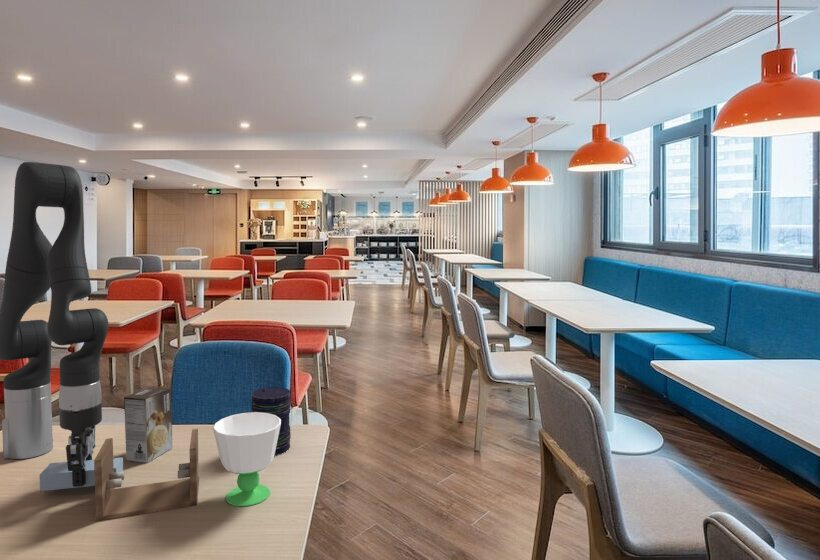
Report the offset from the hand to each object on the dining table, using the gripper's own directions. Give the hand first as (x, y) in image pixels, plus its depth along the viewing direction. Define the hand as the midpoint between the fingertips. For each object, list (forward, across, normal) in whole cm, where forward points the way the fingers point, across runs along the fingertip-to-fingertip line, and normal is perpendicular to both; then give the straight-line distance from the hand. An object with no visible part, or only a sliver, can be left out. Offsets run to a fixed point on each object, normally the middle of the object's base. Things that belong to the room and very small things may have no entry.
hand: (82, 478), depth 106 cm
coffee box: (+3, -15, +11) cm, 19 cm away
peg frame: (+2, +9, +14) cm, 17 cm away
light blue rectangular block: (+1, 0, 0) cm, 1 cm away
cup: (+2, +14, +33) cm, 36 cm away
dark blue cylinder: (+2, -8, +40) cm, 41 cm away
